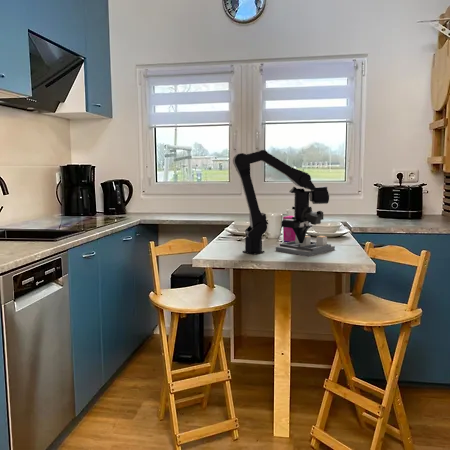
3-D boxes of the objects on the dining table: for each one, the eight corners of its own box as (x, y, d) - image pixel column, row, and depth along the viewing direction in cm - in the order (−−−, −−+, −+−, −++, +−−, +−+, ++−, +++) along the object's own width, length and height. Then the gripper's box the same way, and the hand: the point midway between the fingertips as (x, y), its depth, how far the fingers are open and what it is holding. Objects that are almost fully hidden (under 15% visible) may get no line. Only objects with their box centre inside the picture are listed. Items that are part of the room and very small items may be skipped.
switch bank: (308, 256, 173) (308, 249, 173) (275, 250, 185) (275, 244, 184) (334, 249, 186) (334, 243, 185) (302, 244, 197) (302, 239, 197)
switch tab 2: (306, 247, 183) (306, 237, 182) (300, 246, 185) (300, 236, 184) (310, 246, 185) (310, 236, 184) (304, 245, 187) (304, 235, 186)
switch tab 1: (301, 244, 189) (301, 234, 188) (295, 243, 191) (295, 233, 190) (305, 243, 191) (305, 233, 190) (299, 242, 193) (299, 233, 192)
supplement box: (289, 240, 209) (289, 215, 207) (300, 241, 205) (301, 216, 204) (282, 241, 204) (282, 216, 203) (294, 243, 201) (294, 217, 199)
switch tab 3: (322, 247, 182) (322, 237, 182) (316, 246, 184) (316, 236, 184) (326, 246, 184) (327, 236, 184) (320, 245, 186) (320, 235, 186)
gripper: (304, 207, 168) (303, 249, 170) (332, 203, 181) (331, 242, 183) (280, 205, 176) (280, 245, 178) (309, 202, 189) (308, 239, 191)
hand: (301, 243), depth 183 cm, fingers closed
